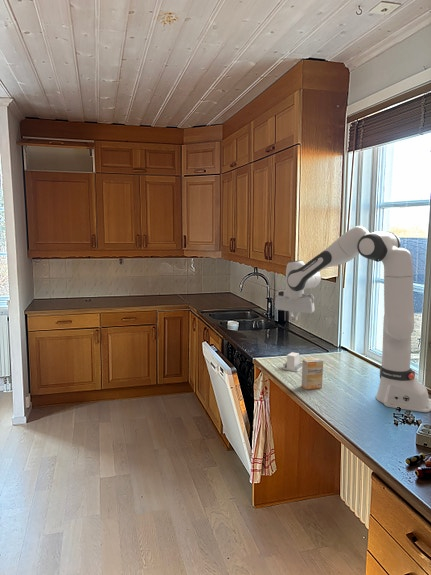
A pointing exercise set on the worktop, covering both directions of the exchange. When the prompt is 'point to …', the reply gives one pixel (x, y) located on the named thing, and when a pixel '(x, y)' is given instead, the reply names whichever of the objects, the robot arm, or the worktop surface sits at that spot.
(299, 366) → the rail plate
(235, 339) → the worktop surface
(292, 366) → the block
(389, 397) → the robot arm
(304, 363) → the supplement box
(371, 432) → the worktop surface
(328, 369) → the worktop surface
